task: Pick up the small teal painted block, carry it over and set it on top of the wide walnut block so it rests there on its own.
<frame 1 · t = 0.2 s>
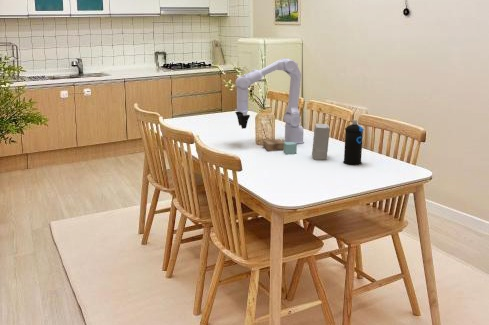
hand: (242, 126, 270), 10 cm above the table, tool pointing down, fingers open, 7 cm apart
aerosol can: (352, 163, 241), on the table
skincare box: (320, 158, 250), on the table
walnut block: (274, 149, 266), on the table
teal block: (289, 153, 258), on the table
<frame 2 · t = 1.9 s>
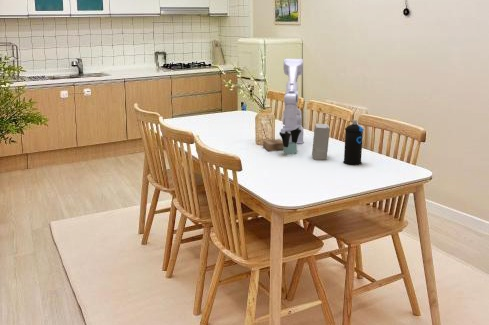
hand: (290, 145, 257), 4 cm above the table, tool pointing down, fingers open, 7 cm apart
teal block: (289, 153, 258), on the table, touching gripper
everything else where it was.
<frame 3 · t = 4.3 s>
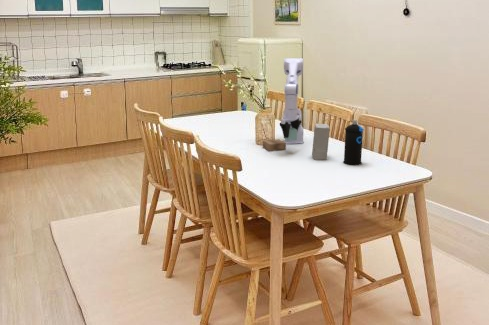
hand: (290, 136, 256), 8 cm above the table, tool pointing down, fingers closed on teal block, 7 cm apart
teal block: (290, 139, 256), point 7 cm above the table, touching gripper
everything else where it was.
when the fingers open (6 cm above the table, at t = 6.0 s): teal block drops 1 cm, point 4 cm above the table.
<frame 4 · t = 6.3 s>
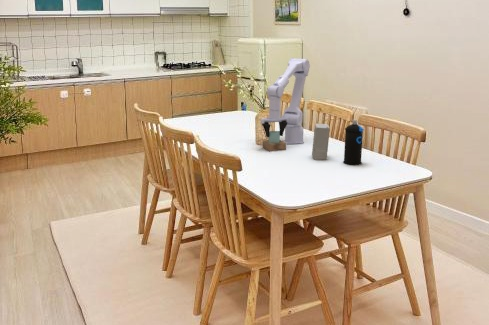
hand: (274, 136, 265), 6 cm above the table, tool pointing down, fingers open, 7 cm apart
teal block: (274, 141, 265), point 4 cm above the table, touching gripper
everything else where it was.
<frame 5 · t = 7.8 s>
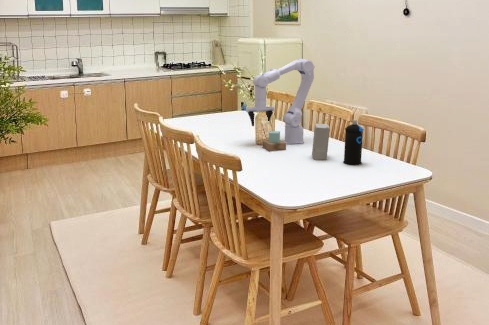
hand: (260, 125, 271), 10 cm above the table, tool pointing down, fingers open, 7 cm apart
walnut block: (274, 149, 266), on the table, touching teal block
teal block: (274, 141, 265), point 4 cm above the table, touching walnut block
everything else where it was.
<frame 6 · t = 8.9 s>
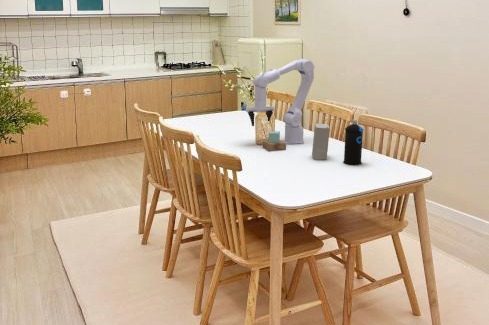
hand: (260, 125, 271), 10 cm above the table, tool pointing down, fingers open, 7 cm apart
nothing on the table moved.
at the end: teal block 0.2 cm off-centre on the walnut block, point 4.0 cm above the walnut block's base; teal block touching walnut block; teal block tilted 0° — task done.
